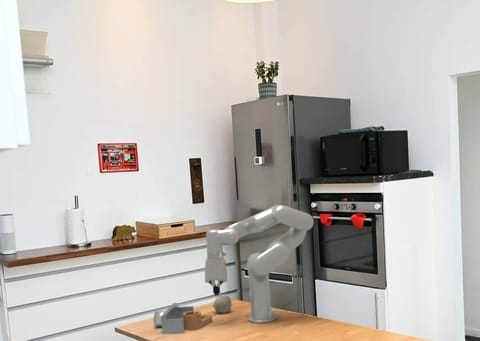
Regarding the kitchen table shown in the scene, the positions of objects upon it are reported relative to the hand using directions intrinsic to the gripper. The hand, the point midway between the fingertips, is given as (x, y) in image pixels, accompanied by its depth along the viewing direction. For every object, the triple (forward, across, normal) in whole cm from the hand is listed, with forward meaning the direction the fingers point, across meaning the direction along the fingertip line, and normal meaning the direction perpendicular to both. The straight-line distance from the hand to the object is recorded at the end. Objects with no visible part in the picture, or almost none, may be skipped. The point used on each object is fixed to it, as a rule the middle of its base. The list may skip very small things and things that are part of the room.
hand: (216, 294), depth 227 cm
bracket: (+14, +9, 0) cm, 17 cm away
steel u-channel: (+14, +23, 0) cm, 27 cm away
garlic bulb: (+14, +1, -21) cm, 25 cm away
